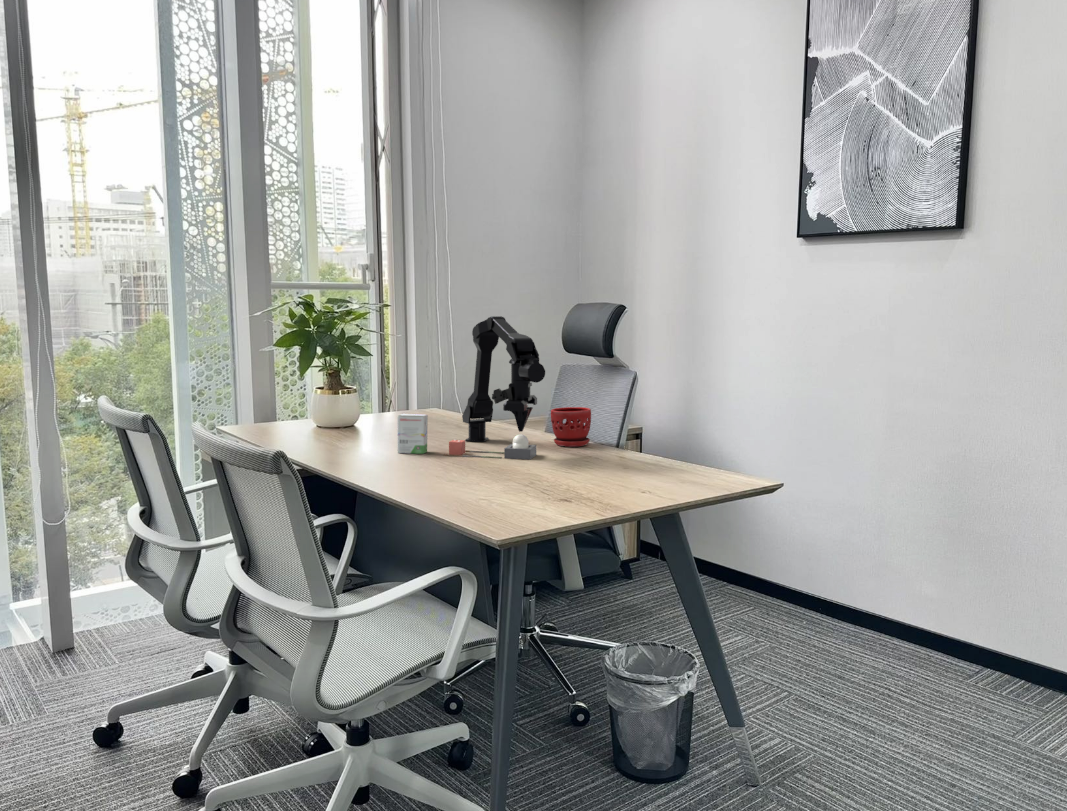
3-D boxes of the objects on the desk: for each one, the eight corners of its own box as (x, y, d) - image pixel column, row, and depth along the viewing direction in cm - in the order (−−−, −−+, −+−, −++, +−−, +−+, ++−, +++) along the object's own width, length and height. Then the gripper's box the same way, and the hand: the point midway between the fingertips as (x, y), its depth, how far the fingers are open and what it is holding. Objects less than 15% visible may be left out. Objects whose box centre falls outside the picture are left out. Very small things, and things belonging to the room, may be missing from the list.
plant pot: (588, 441, 288) (589, 405, 286) (592, 448, 275) (593, 411, 273) (549, 441, 288) (549, 405, 286) (551, 448, 275) (552, 411, 273)
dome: (514, 453, 263) (514, 432, 262) (530, 454, 262) (530, 433, 261) (510, 456, 259) (510, 435, 258) (526, 456, 258) (526, 435, 257)
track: (452, 450, 270) (452, 449, 270) (508, 453, 266) (508, 452, 266) (443, 455, 261) (443, 454, 261) (500, 458, 257) (500, 457, 257)
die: (452, 452, 267) (452, 438, 267) (465, 453, 266) (465, 439, 266) (448, 454, 263) (448, 440, 263) (461, 455, 262) (461, 441, 262)
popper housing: (510, 453, 265) (510, 443, 265) (536, 454, 263) (536, 445, 263) (504, 458, 257) (504, 448, 257) (530, 459, 256) (530, 449, 255)
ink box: (397, 453, 265) (396, 415, 263) (401, 450, 270) (400, 413, 268) (424, 454, 264) (424, 415, 262) (428, 451, 269) (428, 413, 267)
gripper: (502, 376, 268) (502, 426, 270) (486, 381, 250) (486, 435, 252) (537, 377, 266) (537, 427, 268) (523, 382, 248) (523, 436, 250)
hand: (520, 431), depth 259 cm, fingers closed
